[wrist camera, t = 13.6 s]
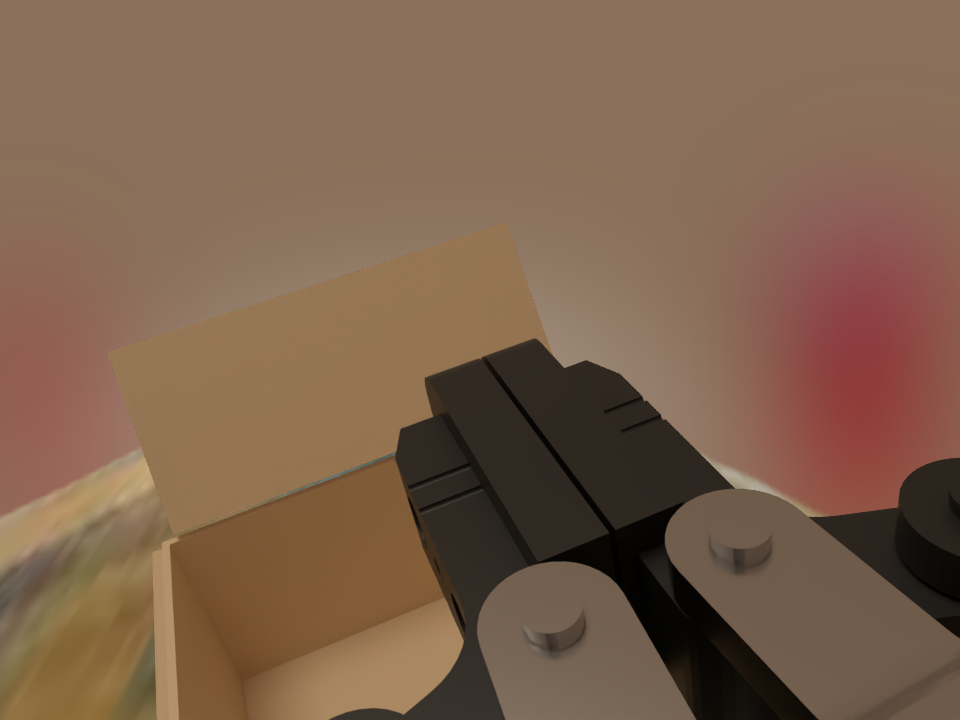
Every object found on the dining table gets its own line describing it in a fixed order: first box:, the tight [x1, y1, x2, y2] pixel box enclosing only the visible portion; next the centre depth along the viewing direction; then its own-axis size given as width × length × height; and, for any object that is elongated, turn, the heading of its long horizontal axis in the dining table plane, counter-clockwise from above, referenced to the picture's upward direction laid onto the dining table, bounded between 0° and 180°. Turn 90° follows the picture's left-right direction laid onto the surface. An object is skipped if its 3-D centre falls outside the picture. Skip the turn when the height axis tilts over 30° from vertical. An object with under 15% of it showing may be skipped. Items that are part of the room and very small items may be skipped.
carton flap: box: [107, 223, 552, 535], centre depth 46 cm, size 22×10×1 cm
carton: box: [152, 455, 464, 720], centre depth 41 cm, size 25×20×12 cm
